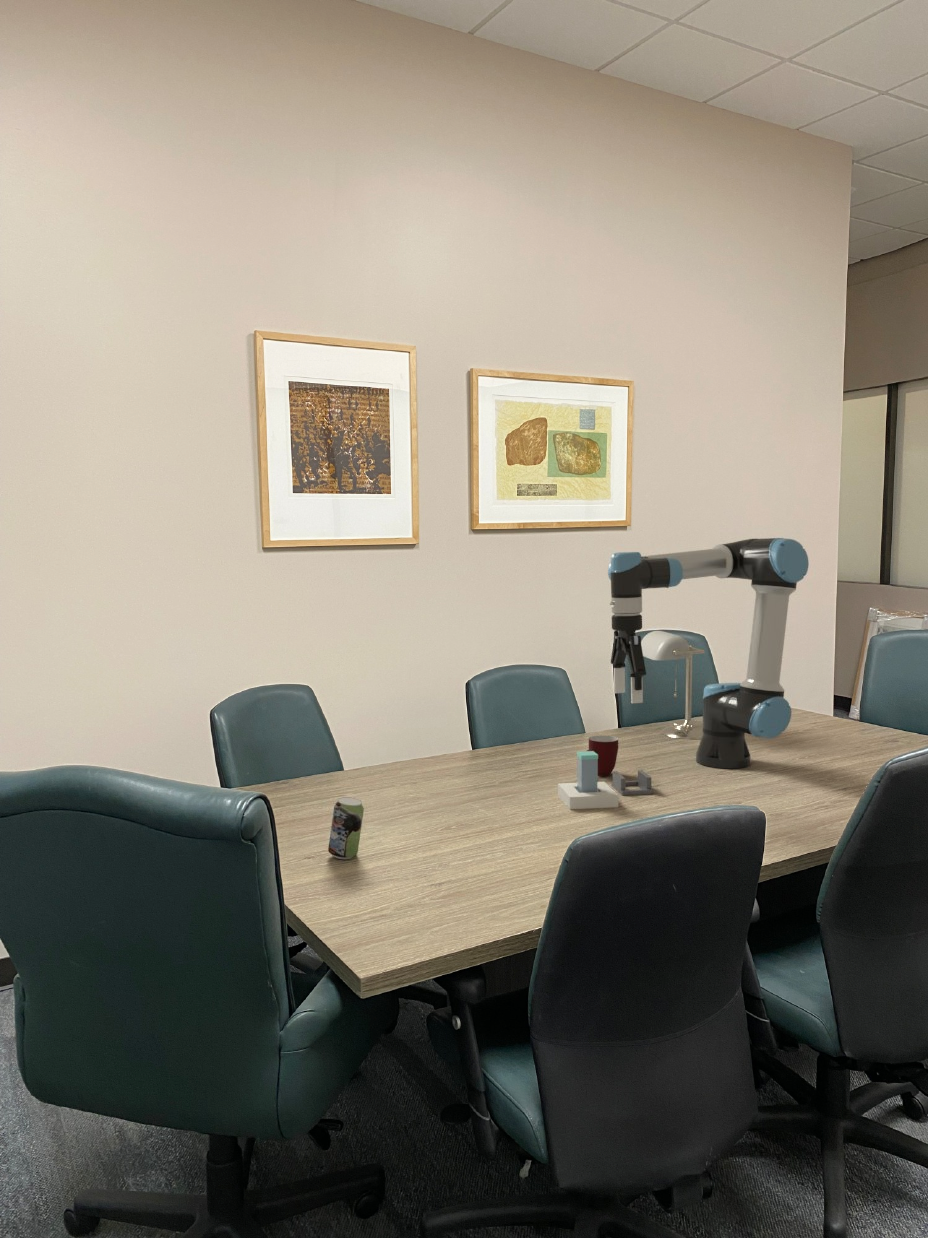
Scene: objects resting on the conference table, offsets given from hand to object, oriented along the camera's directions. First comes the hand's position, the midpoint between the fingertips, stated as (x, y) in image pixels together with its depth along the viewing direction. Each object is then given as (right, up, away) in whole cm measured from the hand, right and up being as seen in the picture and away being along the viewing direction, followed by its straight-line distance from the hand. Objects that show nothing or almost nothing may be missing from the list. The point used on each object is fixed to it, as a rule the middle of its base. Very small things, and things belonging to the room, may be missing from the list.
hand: (628, 697), depth 221 cm
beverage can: (-66, -29, -42) cm, 83 cm away
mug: (-4, -23, +19) cm, 30 cm away
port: (-11, -25, -5) cm, 28 cm away
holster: (+2, -24, +5) cm, 25 cm away
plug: (-11, -25, -5) cm, 28 cm away
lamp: (+30, -19, +71) cm, 79 cm away
